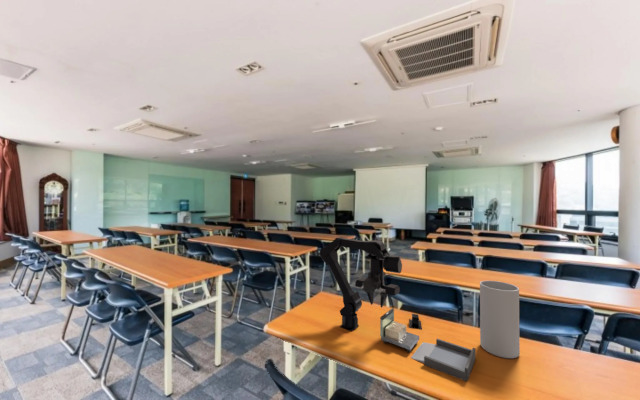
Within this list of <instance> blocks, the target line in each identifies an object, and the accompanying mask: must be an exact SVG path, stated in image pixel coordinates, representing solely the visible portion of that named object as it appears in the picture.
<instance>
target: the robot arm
mask: <svg viewBox="0 0 640 400" xmlns="http://www.w3.org/2000/svg"><path fill="white" fill-rule="evenodd" d="M342 247H343V248H348V249H355V250H360V251H364V252H365V253H366V254H367V255H366V256H365V259H366V260H369V272H368V274H367V277H366V278H365V277H360V278H358V279H356V280H355V282H354V285H355V287H356V288H361V289H362V291H364V292H365V293H366V296H367V297H368V301H369V303H370V305H373V304H374V297H375V296H374V294H375V293H374V292H375V291H376V290H381V292H379V295H380V308H381V309H382V308H383V306H384V305H385V303H386V299H387V297H388V296H396V295H397V294H399V293H401V290H400V286H399V285H397V284H393V283H390V284H388V285H385V283H386V281H385V280H384V275H385V274H386V272H387V273H396V274H401V273H402V270H403V263H402V260H401V256H400V255H398V256H397V255H396V256H395V255H394V256H393V255H391V254H390V253H389V251H388V250H387V248H386V246H385V243H384V242H383V241H382V240H380V239H376V240H360V239H353V238H347V237H346V238H345V237H343V236H342V237H341V236H339V237H335V238H334V239H333V240H332V241H331V242H330V243H328V244H327V245H326V246H323V247H321V249H320V250H319V256H320V258H321V259H322V261H323V262H324V263H325V264H326V265H327V266H329V269H330V270H331V273H332V275H333V277H334V279H335V281H336V283H337V286H338V288H339V289H340V292H341V294H342V303H343V307H342V308H340V309H339V314H340V316H341V324H340V326H339V327H340V328H342V329H345V330H347V331H350V332H353V331H354V330H356V329H357V328H358V327H359V326H360V325H359V322H358V321H359V318H358V313H357V312H358V311H359V310H360V309H361V308H362V305H363V302H362V301H363V298H362V297H361V296H360V294H359V293H360V292H359V291H354V290H353V289H352V287H351V285H350V283H349V280H348V279H347V276H346V275H345V273H344V271H343V268H342V266H341V265H340V263H339V254H338V251H339V250H340V249H341V248H342ZM384 270H385V271H386V272H385V271H384Z"/></svg>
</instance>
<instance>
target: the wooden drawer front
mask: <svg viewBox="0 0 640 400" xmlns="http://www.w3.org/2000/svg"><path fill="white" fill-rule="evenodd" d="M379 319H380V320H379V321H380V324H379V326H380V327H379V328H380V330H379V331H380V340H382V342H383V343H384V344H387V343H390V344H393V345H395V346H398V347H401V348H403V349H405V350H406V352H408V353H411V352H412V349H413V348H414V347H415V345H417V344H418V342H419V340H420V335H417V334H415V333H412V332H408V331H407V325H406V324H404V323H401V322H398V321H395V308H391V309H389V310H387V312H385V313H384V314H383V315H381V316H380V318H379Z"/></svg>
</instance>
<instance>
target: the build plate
mask: <svg viewBox="0 0 640 400" xmlns="http://www.w3.org/2000/svg"><path fill="white" fill-rule="evenodd" d="M419 316H420V315H419V314H417V313H416V314H415V313H411V319H410V318H408V328H409V329H414V330H419V331H422V330H423V327H422V321H421V320H419V319H420V318H419Z"/></svg>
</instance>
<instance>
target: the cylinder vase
mask: <svg viewBox="0 0 640 400" xmlns="http://www.w3.org/2000/svg"><path fill="white" fill-rule="evenodd" d="M479 325H480V328H479V329H480V331H479V333H480V334H479V335H480V340H479V344H480V346H481V347H482V348H483V350H484V351H486V352H488V353H489V354H491V355H493V356H495V357H499V358H502V359H516V358H518V357H520V352H521V351H520V348H521V347H520V345H521V344H520V288H519V287H518V286H516V285H515V284H512V283H509V282H508V283H507V282H504V281H498V280H482V281H480V282H479Z"/></svg>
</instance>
